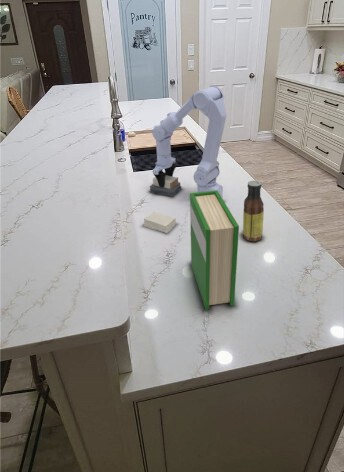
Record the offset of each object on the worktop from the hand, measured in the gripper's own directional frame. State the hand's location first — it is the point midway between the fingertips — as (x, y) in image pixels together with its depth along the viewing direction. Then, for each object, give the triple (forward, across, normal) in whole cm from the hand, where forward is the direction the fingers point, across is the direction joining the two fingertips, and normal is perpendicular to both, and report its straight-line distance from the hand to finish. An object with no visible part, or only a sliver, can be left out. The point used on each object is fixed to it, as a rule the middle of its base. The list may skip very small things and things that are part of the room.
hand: (165, 183), depth 139 cm
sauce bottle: (+4, +16, +43) cm, 46 cm away
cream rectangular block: (+3, +24, +12) cm, 27 cm away
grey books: (+3, 0, 0) cm, 3 cm away
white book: (0, 0, 0) cm, 0 cm away
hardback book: (+4, +42, +40) cm, 58 cm away
